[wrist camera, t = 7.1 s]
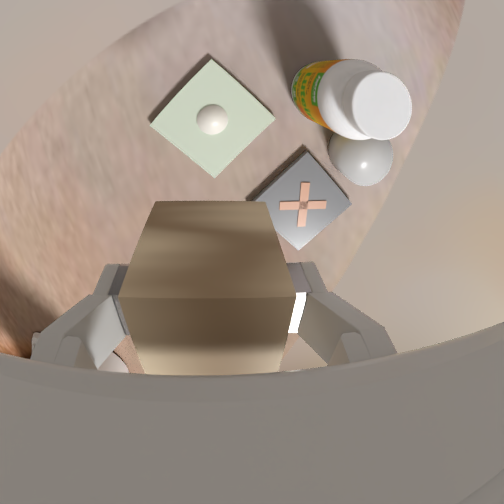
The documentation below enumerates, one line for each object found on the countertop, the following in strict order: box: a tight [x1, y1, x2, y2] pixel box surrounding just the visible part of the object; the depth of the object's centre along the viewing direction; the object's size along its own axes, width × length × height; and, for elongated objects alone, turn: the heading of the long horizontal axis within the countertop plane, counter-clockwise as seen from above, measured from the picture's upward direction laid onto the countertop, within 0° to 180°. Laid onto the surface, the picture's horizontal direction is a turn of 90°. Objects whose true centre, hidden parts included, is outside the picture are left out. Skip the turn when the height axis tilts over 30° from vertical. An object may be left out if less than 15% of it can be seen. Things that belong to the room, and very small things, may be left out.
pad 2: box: [252, 151, 352, 250], centre depth 26 cm, size 7×7×1 cm
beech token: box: [118, 201, 297, 375], centre depth 9 cm, size 4×4×5 cm
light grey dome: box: [328, 132, 393, 186], centre depth 23 cm, size 5×5×3 cm
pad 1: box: [150, 59, 276, 178], centre depth 21 cm, size 7×7×1 cm
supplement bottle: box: [291, 59, 412, 140], centre depth 16 cm, size 5×5×10 cm
